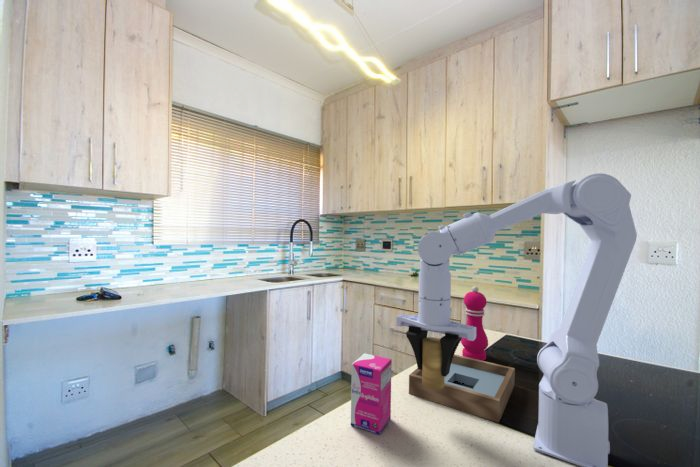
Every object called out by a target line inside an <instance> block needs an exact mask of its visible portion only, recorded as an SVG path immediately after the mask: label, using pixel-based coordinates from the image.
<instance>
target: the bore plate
mask: <svg viewBox="0 0 700 467" xmlns="http://www.w3.org/2000/svg"><path fill="white" fill-rule="evenodd" d="M504 378H505V376H502V375H498V374H494V373H490V372H486V371H482V370H478V369H474V368H470V367H466V366H461V365H457V364H453V363H451V366H450V371H449V374H448V375H447V376H446V377H445V379H444V383H446V384H450V385H453V386H457V387H460V388H464V389H467V390H471V391H474V392H478V393H481V394H485V395H488V396H492V397H495V395H496V393H497V391H498V389H499V387H500V385H501V384H502V382H503V380H504ZM454 381H458V382H457V383H459V382H460V383H459V384H457V383H455V382H454ZM453 382H454V383H453ZM462 383H464V384H463V385H461V384H462ZM465 385H466V386H465ZM467 386H470V387H467ZM471 387H472V388H471Z"/></svg>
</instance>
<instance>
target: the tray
mask: <svg viewBox="0 0 700 467" xmlns="http://www.w3.org/2000/svg"><path fill="white" fill-rule="evenodd" d="M451 363H453V364H457V365H461V366H466V367H470V368H474V369H478V370H482V371H486V372H490V373H494V374H498V375H502V376H505V378H504V380H503V382H502V384H501V385H500V387H499V389H498V391H497V393H496V395H495V397H492V396H488V395H485V394H481V393H478V392H474V391H471V390H467V389H464V388H460V387H457V386H453V385H450V384H446V383H444V387H443V388H442V389H430V388H427V387H425V386H424V385H423V384H422V370H419V369H418V367H417V368H416V369H415V370H413V371H412V372H411V373H410V374H409V375H408V394H410V395H412V396H416V397H419V398H421V399H425V400H428V401H430V402H432V403H433V402H434V403H437V404H440V405H443V406H446V407H450V408H451V409H452V408H453V409H455V410H458V411H462V412H464V413H468V414H470V415H474V416H476V417H480V418H482V419H483V418H484V419H486V420H489V421H493V422H495V423H500V420H501V419H502V417H503V414H504V411H505V409H506V406H507V405H508V401H509V399H510V397H511V394H512V393H513V390H514V388H515V375H516V372H515V371H516V368H515V367H511V366H506V365H503V364H499V363H498V364H497V363H494V362H489V361H485V360H484V361H481V360H477V359H473V358H468V357H464V356H463V355H459V354H455V353H454V356H453V359H452V362H451Z"/></svg>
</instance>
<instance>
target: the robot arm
mask: <svg viewBox="0 0 700 467" xmlns="http://www.w3.org/2000/svg"><path fill="white" fill-rule="evenodd" d="M631 198H632V194H631V193H630V191H629V190H628V189H627V188H626V187H625V186H624V185H623V184H622V183H621V182H620V181H619V179H618V178H616V177H614V176H613V175H611V174H607V173H601V172H600V173H599V172H598V173H592V174H589V175H587V176H585V177H582V178H581V179H580V180H578V181H577V180H575V179H574V180H571V181H568V182H564V183H561V184H558V185H554V186H552V187H549V188H545V189H542V190H541V191H539V192H537V193H535V194H532V195H530V196H528V197H526V198H524V199H523V198H522V200H519V201H517V202H515V203H513V204H511V205H509V206H507V207H505V208H504V207H503V209H500V210H497V211H496V212H494V213H491V214H489V215H488V214H485V213H482V212H478V211H477V212H475V213H473V214H472V212H470V211H469V212H466V213H464V214H463V218H461V219H459V220H457V221H455V222H453V223H450V224H448V225H444V224H441V225H440V226H438V230H439V231H429V232H428V233H427V234H425V235H423V236H422V237H421V239H419V241H418V245H417V252H418V255H419V258H420V260H419V272H418V308H417V309H418V311H417V312H418V313H417V315H414V314H413V315H411V314H402V313H400V314H398V315H396V316H395V317H396V323H395V326H397V327H407V328H408V330H407V331H406V332H405V336H406V338H407V340H408V342H409V344H410V346H411V349H412V352H413V354H414V358H415V362H416V366H417V368H418V369H419V370H422V352H423V339H424V338H427V337H428V332H430V333H431V332H433V333H436V334H443V335H444V336H442V337H440V343H441V350H442V376H445V377H446V376H447V375H448V374H449V371H450V366H451V362H452V359H453V356H454V354H455V353H456V350H457V349H458V347H459V345H460V343H461V339H462V338H467V340H471V341H474V340H475V339H476V327H473V326H468V325H466V324H464V323H460V322H458V321H453V320H451V306H452V304H451V303H452V302H451V301H452V299H451V298H452V297H451V293H452V286H451V285H452V284H451V283H452V273H451V271H450V262H451V261H450V258H451V257H452V255H456V256H460V255H462V254H466V253H468V252H471V251H473V250H475V249H478V248H480V247H482V246H485V245H487V244H490V243H492V242H493V241H494V238H495V235H496V234H497V232H498V231H500V230H504V229H506V228H509V227H511V226H514V225H516V224H518V223H521V222H524V221H526V220H529V219H531V218H534V217H536V216H539V215H542V214H547V215H548V214H549V215H558V214H563V215H565V217H568V218H569V219H571V220H572V221H573V222H574V223H576V224H578V225H579V227H581V229H582V230H583V231H584V233H585V234H586V236H588V239H590V244H589V247H588V248H587V252H586V254H585V256H584V257H585V258H584V260H583V263H582V265H581V268H580V271H579V274H578V277H577V279H576V282H575V285H574V287H573V290H572V293H571V296H570V298H569V300H568V304H567V305H566V309H565V312H564V315H563V317H562V320H561V323H560V325H559V328H558V329H557V330H555V331H554V332H553V333H552V334H551V336H550V338H549V341H547V343H546V344H545V345H544V346H543V347H541V348H540V350H539V351H538V353H537V357H536V362H537V366H538V369H539V370H540V371H541V372H542V373H543V376H542V378H541V380H540V382H539V384H538V420H537V421H538V423H537V426H536V431H535V435H534V440H533V445H532V448H533V449H534V450H535V451H536V452H540V453H542V454H545V455H548V456H551V457H554V458H556V459H559V460H562V461H565V462H567V463H570V464H573V465H575V466H576V465H577V466H579V467H608V464H609V463H608V462H609V455H610V453H611V446H610V440H609V409H608V408H609V407H608V403H606V402H604V401H601V400H598V399H596V398H595V397H596V395H597V393H598V391H599V381H598V376H597V374H598V373H597V372H598V369H599V367H600V357H599V352H598V348H597V346H598V345H597V344H598V342H599V338H600V336H601V334H602V331H603V328H604V327H605V326H604V325H605V323H606V320H607V318H608V315H609V313H610V311H611V308H612V305H613V302H614V300H615V297H616V294H617V292H618V289H619V286H620V283H621V281H622V279H623V276H624V273H625V271H626V268H627V265H628V263H629V260H630V257H631V254H632V253H633V249H634V248H635V244H636V242H637V236H638V235H637V230H636V226H635V222H634V218H633V214H632V211H631V207H630V203H631Z"/></svg>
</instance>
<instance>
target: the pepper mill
mask: <svg viewBox="0 0 700 467" xmlns="http://www.w3.org/2000/svg"><path fill="white" fill-rule="evenodd" d="M487 303H488V302H487V298H486V296H485V294H483V293H482V292H479V287H478V286H477V285H476V286H472V288H471V291H469V292H467V293H466V294H465V295H464V297H463V304H464V305H465V306H466V308H465V312H464V313H465V314H466V318H467V319H466V324H465V325H468V326H473V327H476V339H475V340H474V341H471V340H467V338H462V339H461V341H460V343H461V345H462V347H463V348H462V351H461V353H462V355H461V356H464V357H468V358H473V359H477V360H481V361H485V360H486V359H487V352H486V351H485V350H486V349H487V348H488V347H489V339H488V336H487V333H486V331H485V329H484V326H483V318H484V317H483V316H485V309H484V308H485V307H486V306H487Z"/></svg>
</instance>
